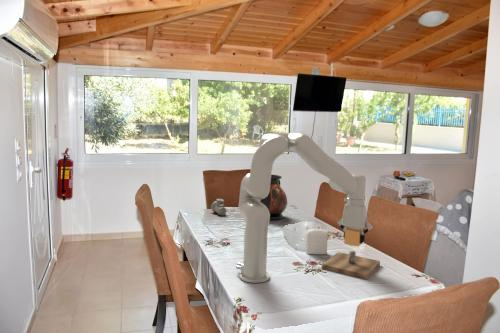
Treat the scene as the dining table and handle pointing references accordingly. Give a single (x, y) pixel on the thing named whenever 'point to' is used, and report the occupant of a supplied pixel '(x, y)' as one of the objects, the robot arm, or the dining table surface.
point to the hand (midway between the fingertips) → (353, 240)
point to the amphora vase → (275, 199)
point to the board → (351, 265)
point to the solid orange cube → (352, 236)
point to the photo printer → (316, 241)
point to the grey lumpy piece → (218, 207)
